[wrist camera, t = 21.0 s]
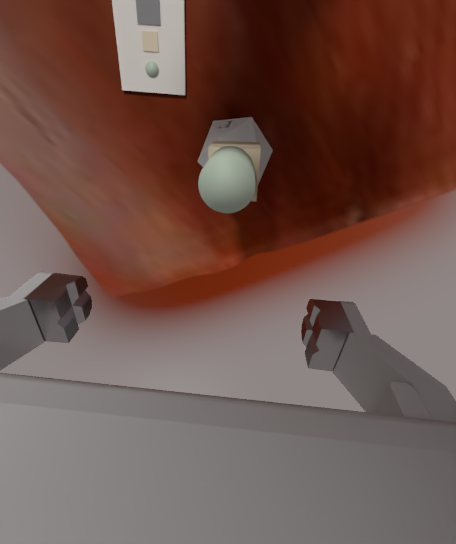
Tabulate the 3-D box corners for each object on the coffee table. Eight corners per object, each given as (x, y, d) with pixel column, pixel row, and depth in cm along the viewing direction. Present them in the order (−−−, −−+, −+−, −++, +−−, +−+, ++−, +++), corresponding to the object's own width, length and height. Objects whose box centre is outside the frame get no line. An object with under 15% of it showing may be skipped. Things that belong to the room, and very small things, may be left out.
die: (281, 135, 37) (258, 94, 29) (272, 200, 38) (247, 178, 29) (226, 139, 41) (191, 103, 32) (219, 198, 41) (182, 179, 32)
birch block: (214, 140, 31) (208, 147, 26) (259, 142, 30) (260, 149, 26) (214, 186, 33) (208, 198, 29) (255, 188, 33) (256, 201, 29)
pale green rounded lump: (198, 157, 27) (188, 168, 23) (245, 137, 26) (243, 145, 22) (217, 202, 29) (211, 220, 25) (261, 186, 28) (262, 202, 24)
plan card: (110, -21, 30) (108, -22, 30) (184, -16, 30) (183, -17, 29) (123, 90, 35) (121, 90, 35) (185, 95, 35) (185, 95, 35)
